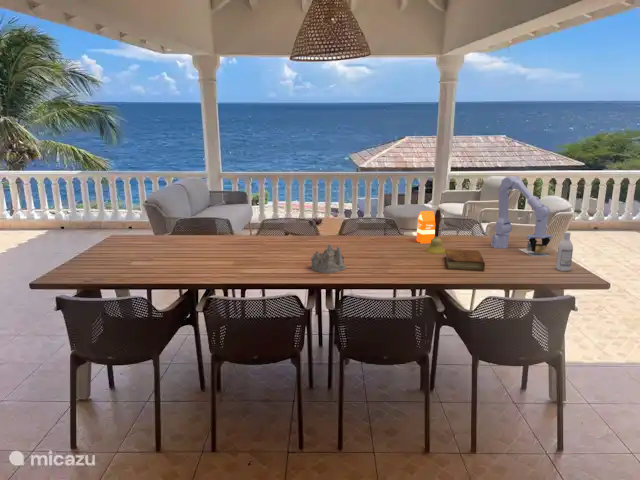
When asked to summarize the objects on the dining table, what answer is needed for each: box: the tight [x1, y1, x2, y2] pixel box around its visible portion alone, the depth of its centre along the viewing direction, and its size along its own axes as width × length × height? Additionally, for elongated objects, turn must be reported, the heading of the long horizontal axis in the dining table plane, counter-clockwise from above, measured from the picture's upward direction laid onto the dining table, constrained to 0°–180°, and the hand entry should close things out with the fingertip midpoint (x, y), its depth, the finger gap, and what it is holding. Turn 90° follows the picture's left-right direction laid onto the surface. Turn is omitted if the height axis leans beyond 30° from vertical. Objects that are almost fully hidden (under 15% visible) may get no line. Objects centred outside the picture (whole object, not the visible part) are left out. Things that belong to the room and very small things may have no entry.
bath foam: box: [555, 231, 574, 272], centre depth 262 cm, size 7×7×20 cm
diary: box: [444, 248, 486, 272], centre depth 273 cm, size 23×19×6 cm
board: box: [518, 248, 549, 257], centre depth 293 cm, size 10×17×1 cm, turn 7°
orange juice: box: [416, 210, 435, 245], centre depth 319 cm, size 8×9×20 cm
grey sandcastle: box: [310, 243, 347, 274], centre depth 263 cm, size 16×16×15 cm
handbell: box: [425, 209, 446, 255], centre depth 296 cm, size 12×12×25 cm
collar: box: [531, 243, 547, 254], centre depth 288 cm, size 6×6×4 cm
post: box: [526, 241, 531, 251], centre depth 298 cm, size 2×2×6 cm
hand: (538, 250), depth 288 cm, fingers closed on collar, 5 cm apart
